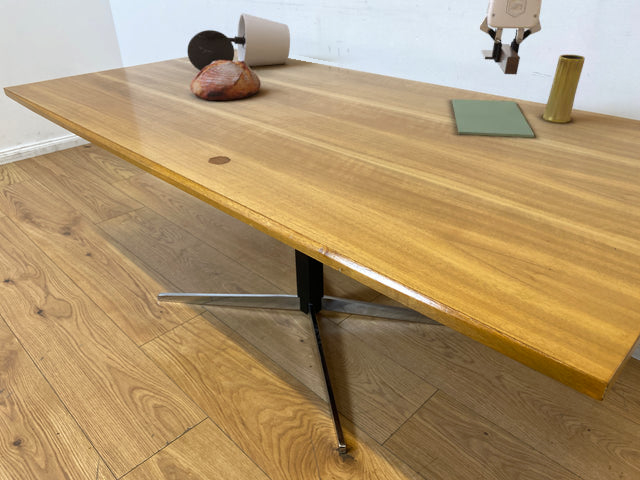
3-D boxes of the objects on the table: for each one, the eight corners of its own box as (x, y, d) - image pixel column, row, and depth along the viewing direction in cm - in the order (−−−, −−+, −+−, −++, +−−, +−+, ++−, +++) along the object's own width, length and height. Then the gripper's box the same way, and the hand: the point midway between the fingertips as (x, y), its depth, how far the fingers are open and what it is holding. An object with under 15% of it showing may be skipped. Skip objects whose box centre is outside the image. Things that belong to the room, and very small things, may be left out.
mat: (514, 103, 127) (514, 101, 127) (534, 137, 106) (534, 135, 105) (452, 101, 130) (452, 99, 129) (458, 134, 108) (459, 131, 108)
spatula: (528, 74, 98) (532, 57, 97) (492, 73, 99) (495, 56, 98) (510, 53, 117) (513, 38, 115) (480, 52, 118) (483, 37, 116)
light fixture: (183, 46, 170) (277, 54, 180) (187, 75, 158) (287, 81, 169) (183, -3, 157) (284, 9, 168) (187, 25, 146) (295, 35, 157)
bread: (266, 101, 135) (264, 64, 129) (194, 108, 130) (189, 70, 124) (254, 83, 148) (252, 49, 142) (188, 89, 142) (183, 53, 137)
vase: (573, 118, 116) (590, 56, 109) (565, 124, 112) (582, 60, 105) (547, 113, 120) (562, 52, 112) (538, 119, 116) (553, 57, 108)
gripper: (481, -33, 95) (467, 64, 105) (568, -33, 93) (545, 66, 103) (477, -35, 102) (464, 57, 112) (558, -35, 99) (538, 59, 109)
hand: (503, 60), depth 107 cm, fingers closed on spatula, 2 cm apart
